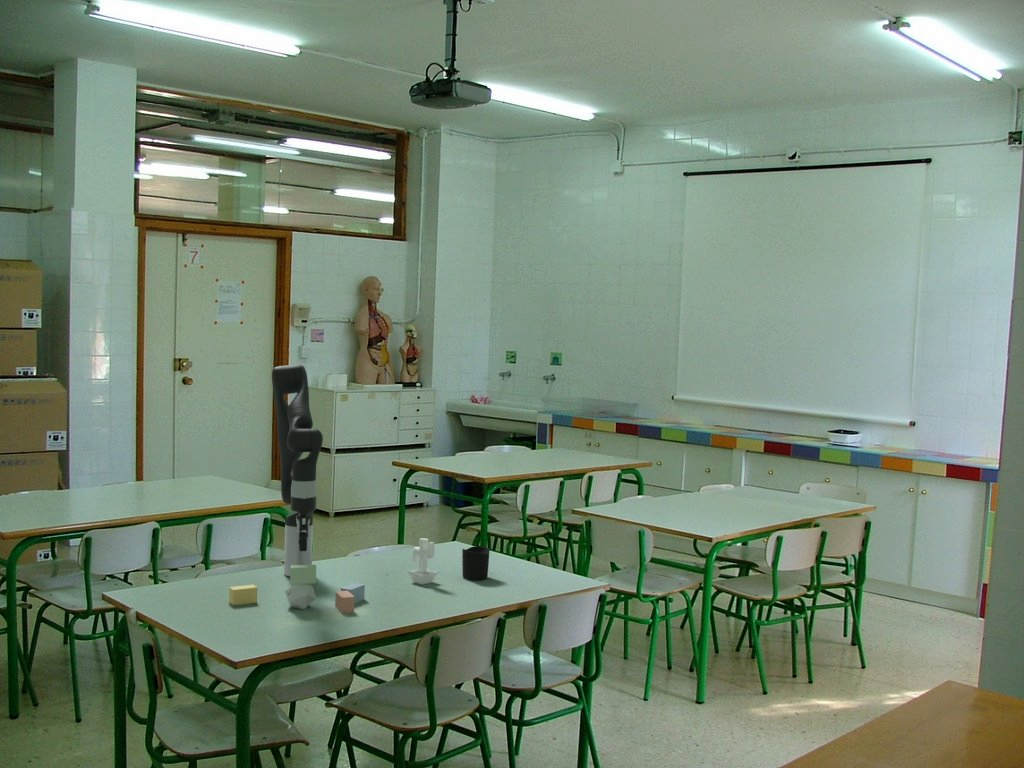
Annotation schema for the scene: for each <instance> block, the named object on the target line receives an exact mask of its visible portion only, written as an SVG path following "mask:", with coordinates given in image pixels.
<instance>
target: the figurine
mask: <svg viewBox="0 0 1024 768" xmlns="http://www.w3.org/2000/svg"><path fill="white" fill-rule="evenodd" d="M434 556H435V542H433V541H430V542H429V539H428V538H426V537H425V538H424V537H423V538H419V542H418V546H414V547H413V549H412V562H413V563H418V569H417V568H416V569H413V570H408V571H407V573H408V574H409V576H410V579H411V580H412V582H413V583H415V584H418V585H423V586H424V585H428V584H432V583H433V582H434V580H435V578H436V576H437V575H438V573H439V572H438V571H435V570H431V569H429V568H428V559H433V558H434Z"/></svg>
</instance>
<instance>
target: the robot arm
mask: <svg viewBox="0 0 1024 768" xmlns="http://www.w3.org/2000/svg"><path fill="white" fill-rule="evenodd" d="M306 370H307V369H306V368H305V366H304V365H302V364H287V365H279V366H275V367H273V368H272V370H271V383H272V384H271V385H272V392H273V397H274V405H275V411H276V427H277V441H278V442H277V443H278V449H279V450H278V451H279V459H280V461H279V462H280V488H281V489H280V491H281V492H280V493H281V494H280V495H281V499H282V502H283V503H284V504H286V505H290V510H291V511H292V512H294V513H289V514H288V515H286V516H285V523H284V528H285V529H284V562H283V563H284V564H283V565H284V566H283V575H284V576H286V577H290V576H291V565H313V533H314V532H313V530H314V526H313V525H314V511H316V510H317V464H318V460H319V459H318V458H319V456H320V452H321V449H322V446H323V442H324V437H323V433H322V432H321V430H319V429H318V428H313V425H314V421H313V417H312V414H311V409H310V390H309V381H308V380H309V379H308V375H307V371H306ZM291 394H296V395H295V396H294V398H293V399H292V401H291V402H290V404H289V403H288V402H287V400H286V398H285V395H291ZM304 453H308V455H306V457H305V458H301V457H302V455H303V454H304ZM300 458H301V459H300Z"/></svg>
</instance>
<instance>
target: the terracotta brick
mask: <svg viewBox="0 0 1024 768" xmlns="http://www.w3.org/2000/svg"><path fill="white" fill-rule="evenodd" d="M334 594H335V595H334V596H335V600H334V601H335V603H334V607H335V608H336V609H337V610H338V611H339V612H340V613H341V614H350V613H355V603H354V599H355V597H354V596H353V595H352V594H351V593H350V592H349V591H341V590H338V591H335V593H334Z"/></svg>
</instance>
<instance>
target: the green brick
mask: <svg viewBox="0 0 1024 768" xmlns="http://www.w3.org/2000/svg"><path fill="white" fill-rule="evenodd" d="M289 578H290V579H289V580H290V581H289V583H290V585H292V584H306V583H311V584H317V564H312V565H291V576H289Z"/></svg>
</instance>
